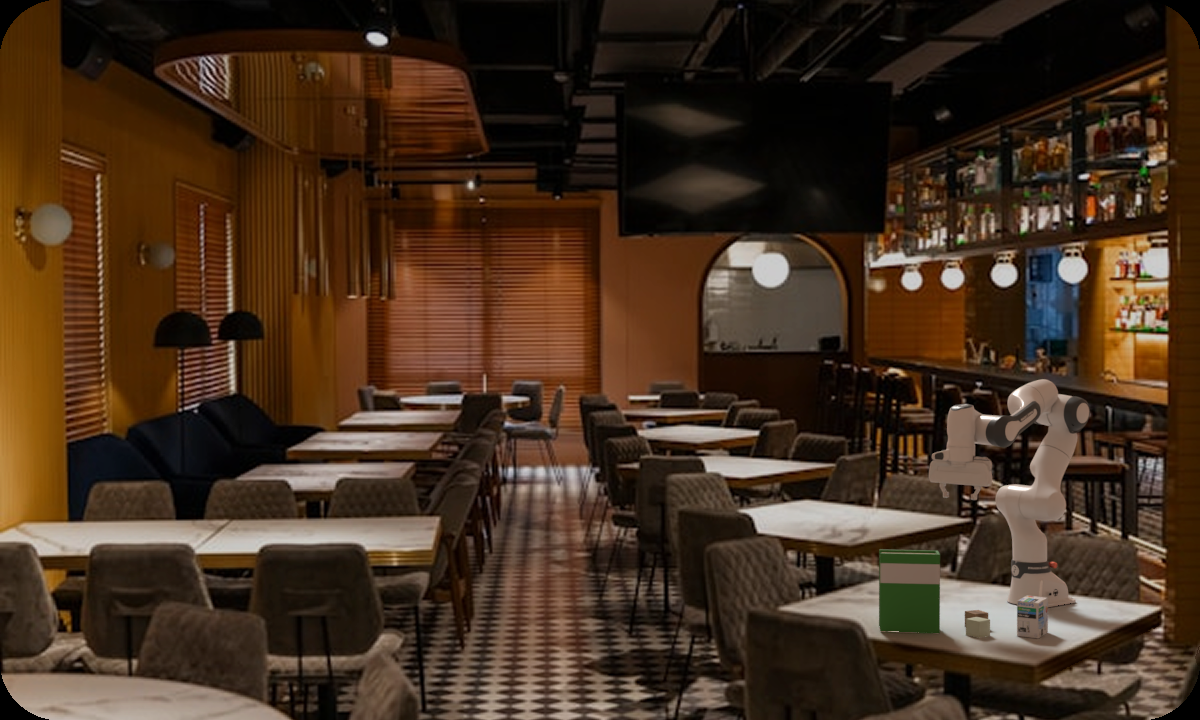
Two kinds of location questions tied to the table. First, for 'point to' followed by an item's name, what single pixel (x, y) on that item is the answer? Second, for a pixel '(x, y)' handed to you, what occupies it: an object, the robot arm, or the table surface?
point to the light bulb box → (1032, 616)
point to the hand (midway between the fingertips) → (959, 498)
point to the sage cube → (978, 627)
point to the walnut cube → (975, 614)
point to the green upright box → (909, 591)
